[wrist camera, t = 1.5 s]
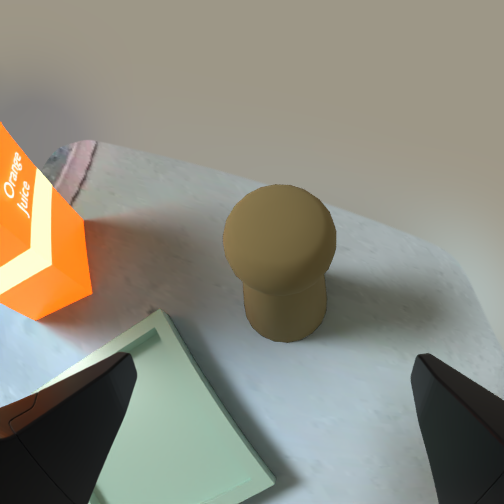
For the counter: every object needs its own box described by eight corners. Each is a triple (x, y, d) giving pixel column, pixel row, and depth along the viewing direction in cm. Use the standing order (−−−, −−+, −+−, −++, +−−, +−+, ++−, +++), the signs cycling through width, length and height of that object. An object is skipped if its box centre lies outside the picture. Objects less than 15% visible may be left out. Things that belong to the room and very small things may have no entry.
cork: (233, 280, 24) (192, 190, 14) (307, 253, 24) (312, 150, 15) (260, 355, 21) (230, 310, 11) (340, 323, 21) (376, 253, 12)
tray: (276, 477, 17) (274, 484, 15) (121, 541, 15) (110, 547, 13) (168, 315, 23) (159, 308, 22) (44, 395, 21) (31, 393, 19)
